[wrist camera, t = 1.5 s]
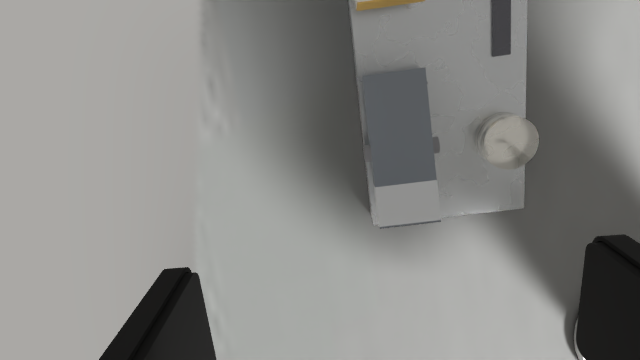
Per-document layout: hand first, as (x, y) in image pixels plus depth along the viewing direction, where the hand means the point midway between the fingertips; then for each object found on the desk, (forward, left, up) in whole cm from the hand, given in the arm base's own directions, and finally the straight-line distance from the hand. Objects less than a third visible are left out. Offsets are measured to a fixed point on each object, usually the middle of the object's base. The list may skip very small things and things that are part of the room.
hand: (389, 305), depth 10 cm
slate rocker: (-3, +1, -16) cm, 16 cm away
